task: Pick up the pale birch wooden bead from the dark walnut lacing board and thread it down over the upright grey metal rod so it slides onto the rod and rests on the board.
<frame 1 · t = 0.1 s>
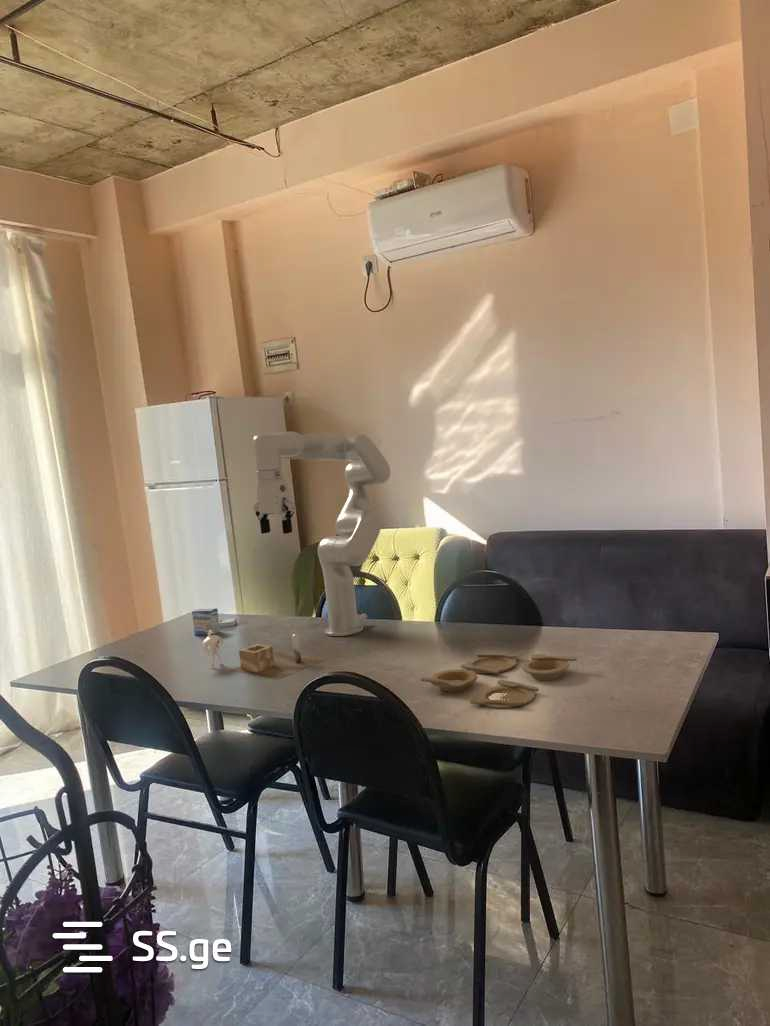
hand: (276, 532, 225), 37 cm above the table, tool pointing down, fingers open, 9 cm apart
lacing board: (278, 670, 212), on the table
medicine box: (207, 634, 264), on the table
wooden bead: (258, 667, 212), point 1 cm above the table, touching lacing board
figurine: (216, 671, 218), on the table
tableware set: (498, 683, 184), on the table
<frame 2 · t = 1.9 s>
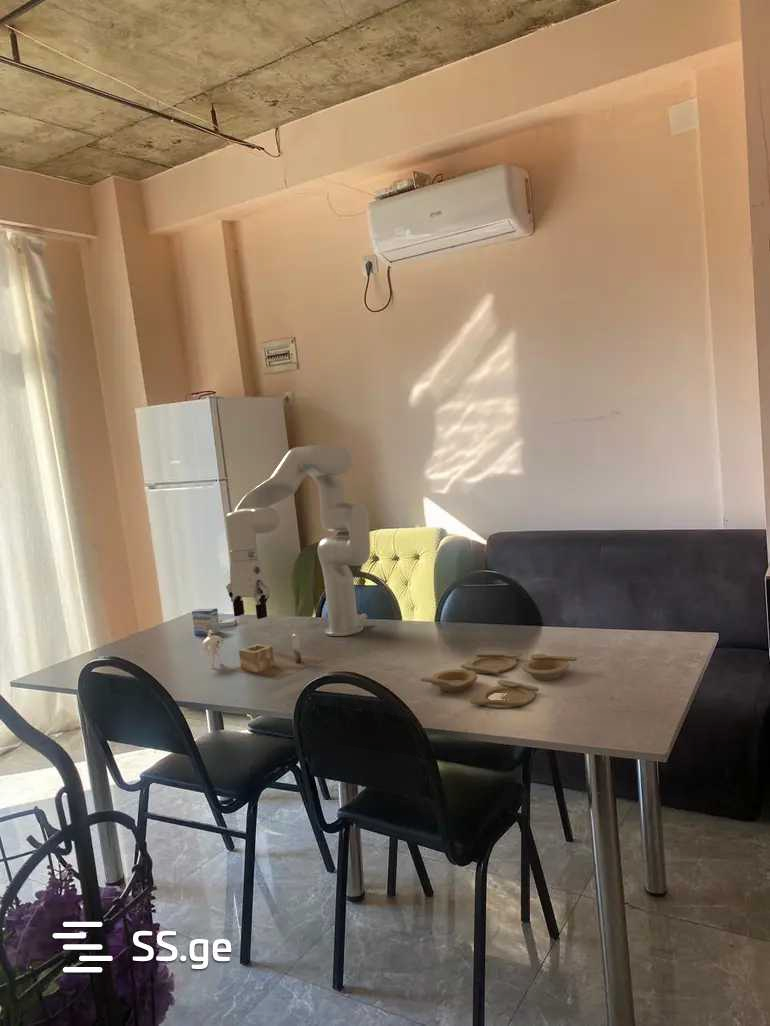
hand: (250, 616, 210), 16 cm above the table, tool pointing down, fingers open, 9 cm apart
nothing on the table moved.
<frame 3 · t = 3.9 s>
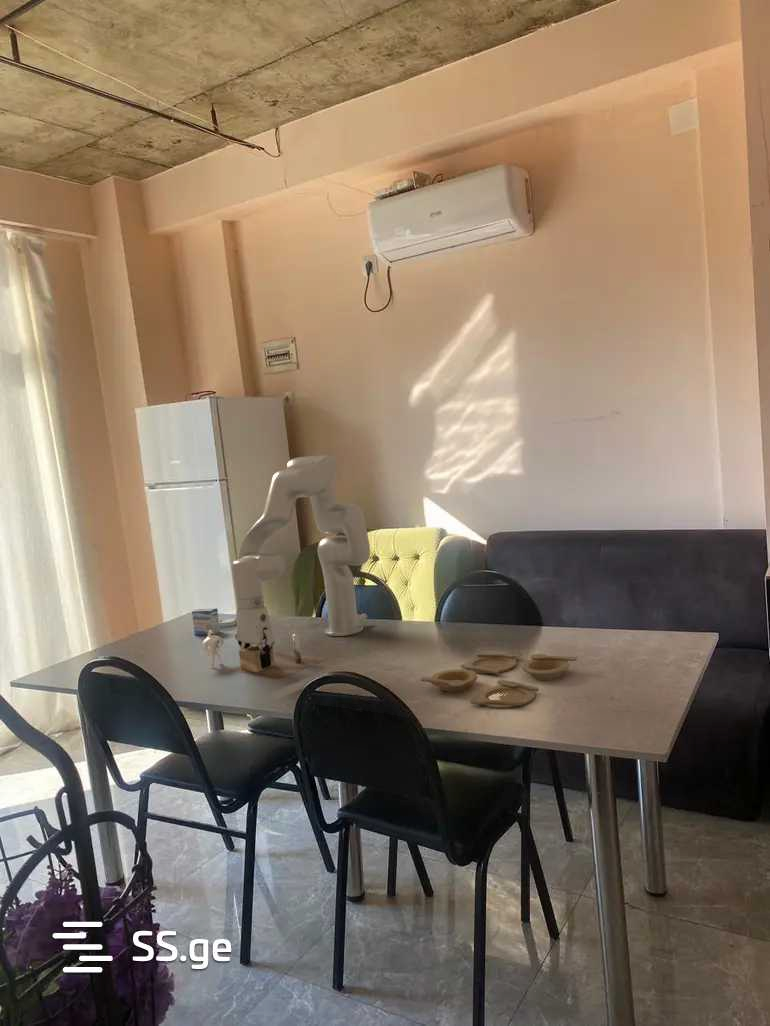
hand: (257, 664, 211), 2 cm above the table, tool pointing down, fingers closed on wooden bead, 6 cm apart
wooden bead: (258, 667, 212), point 2 cm above the table, touching gripper, lacing board
everything else where it was.
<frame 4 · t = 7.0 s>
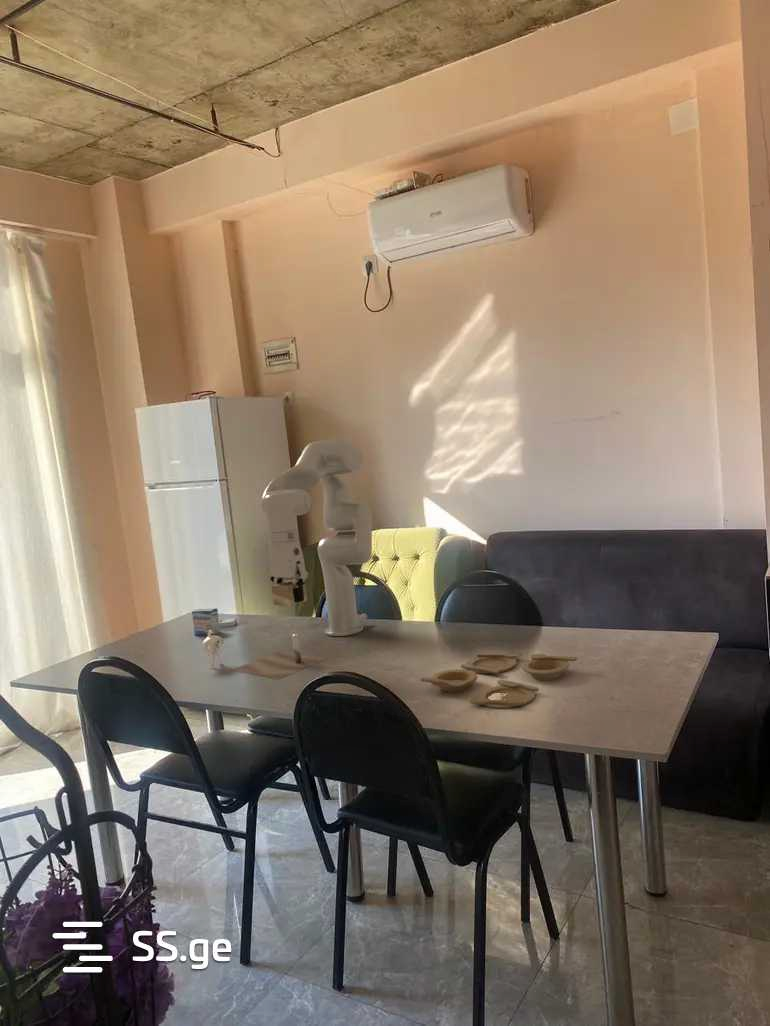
hand: (290, 600, 211), 19 cm above the table, tool pointing down, fingers closed on wooden bead, 6 cm apart
wooden bead: (290, 602, 211), point 19 cm above the table, touching gripper
everything else where it was.
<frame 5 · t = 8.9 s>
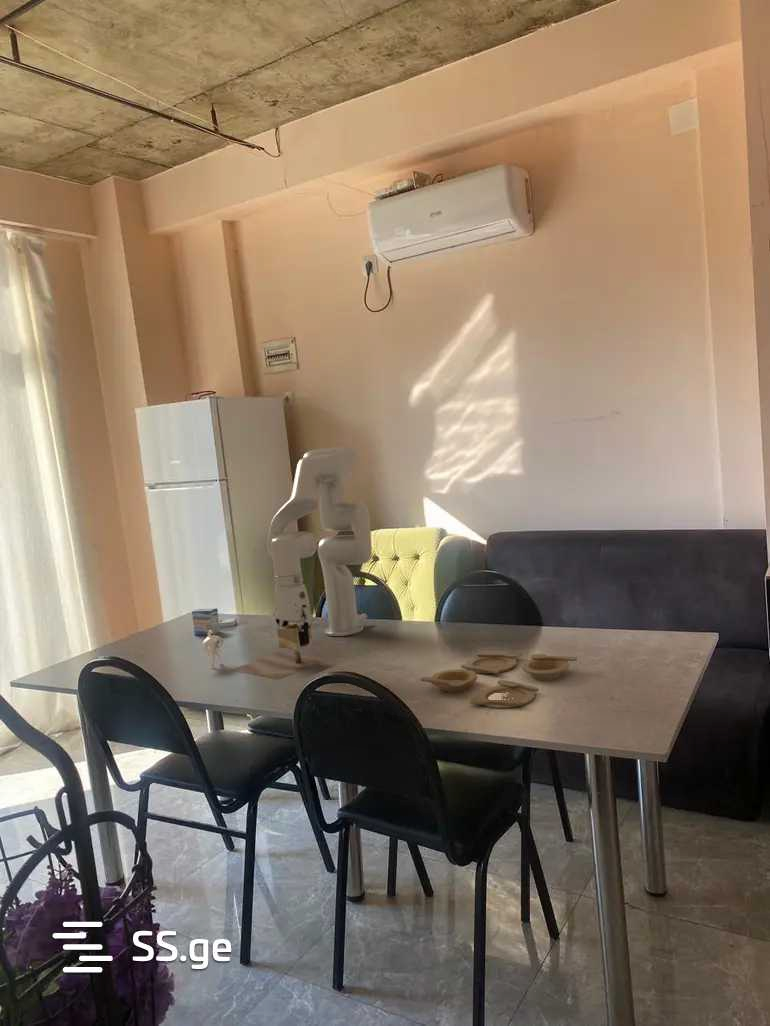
hand: (295, 642, 212), 7 cm above the table, tool pointing down, fingers closed on wooden bead, 6 cm apart
wooden bead: (295, 645, 212), point 6 cm above the table, touching gripper
everything else where it was.
when the fingers open (5 cm above the table, at t = 10.2 s): wooden bead drops 3 cm, resting on lacing board.
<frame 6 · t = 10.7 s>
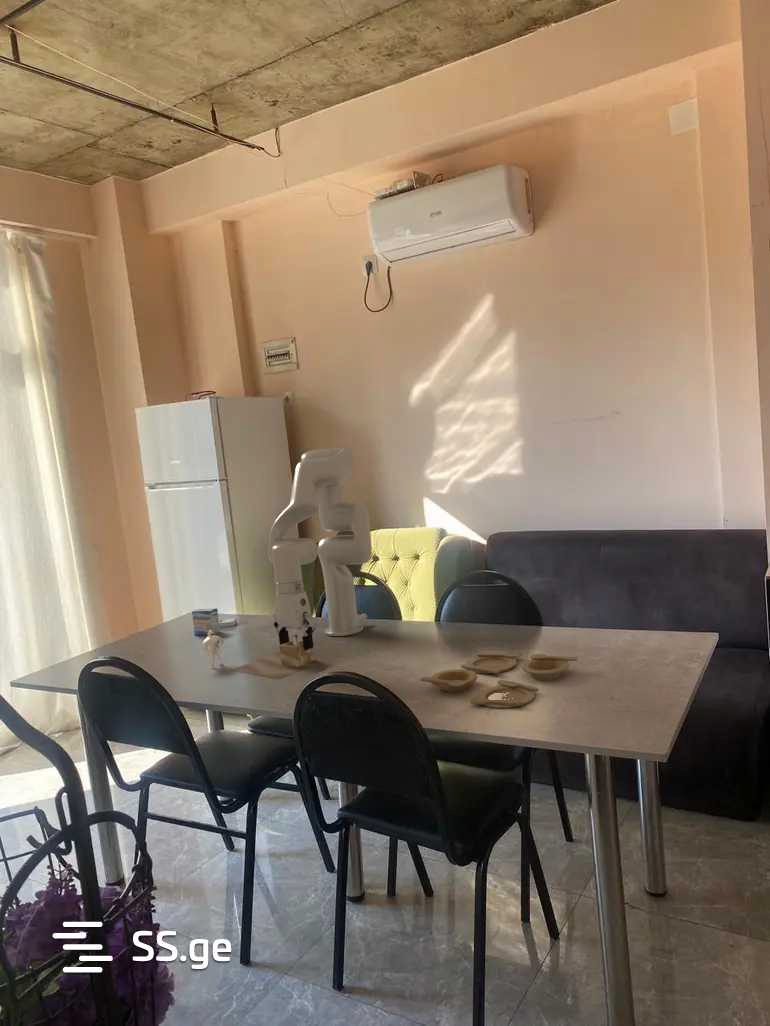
hand: (296, 647, 212), 6 cm above the table, tool pointing down, fingers open, 9 cm apart
wooden bead: (298, 662, 213), point 1 cm above the table, touching lacing board
everything else where it was.
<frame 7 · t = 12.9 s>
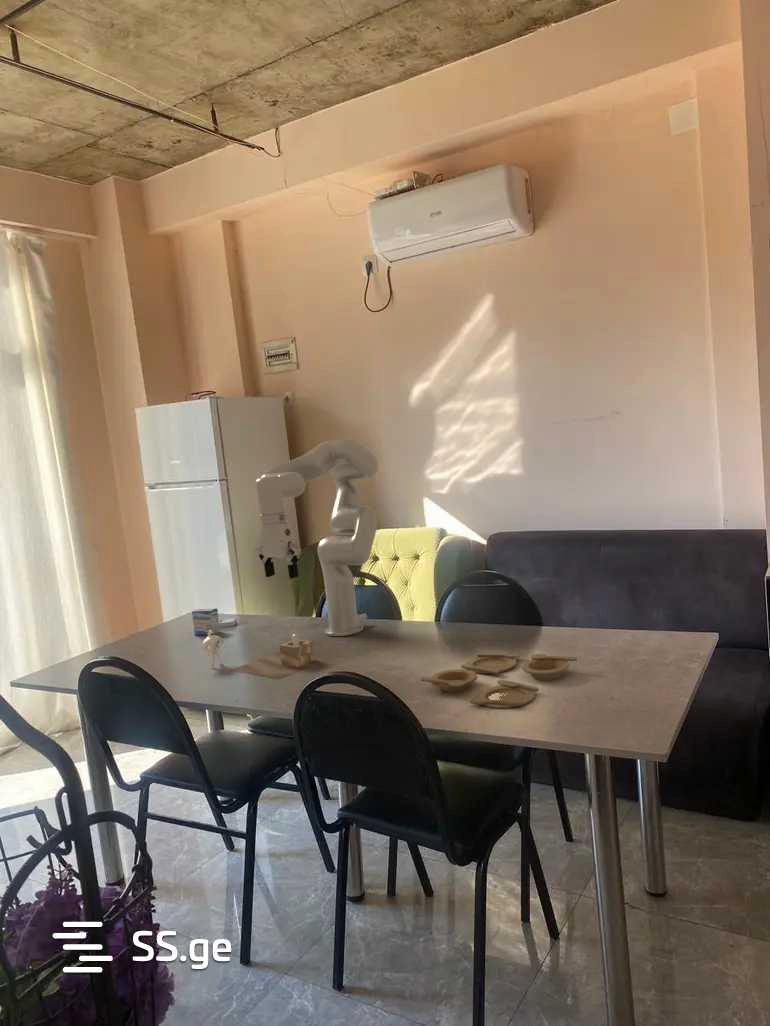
hand: (282, 576, 220), 25 cm above the table, tool pointing down, fingers open, 9 cm apart
nothing on the table moved.
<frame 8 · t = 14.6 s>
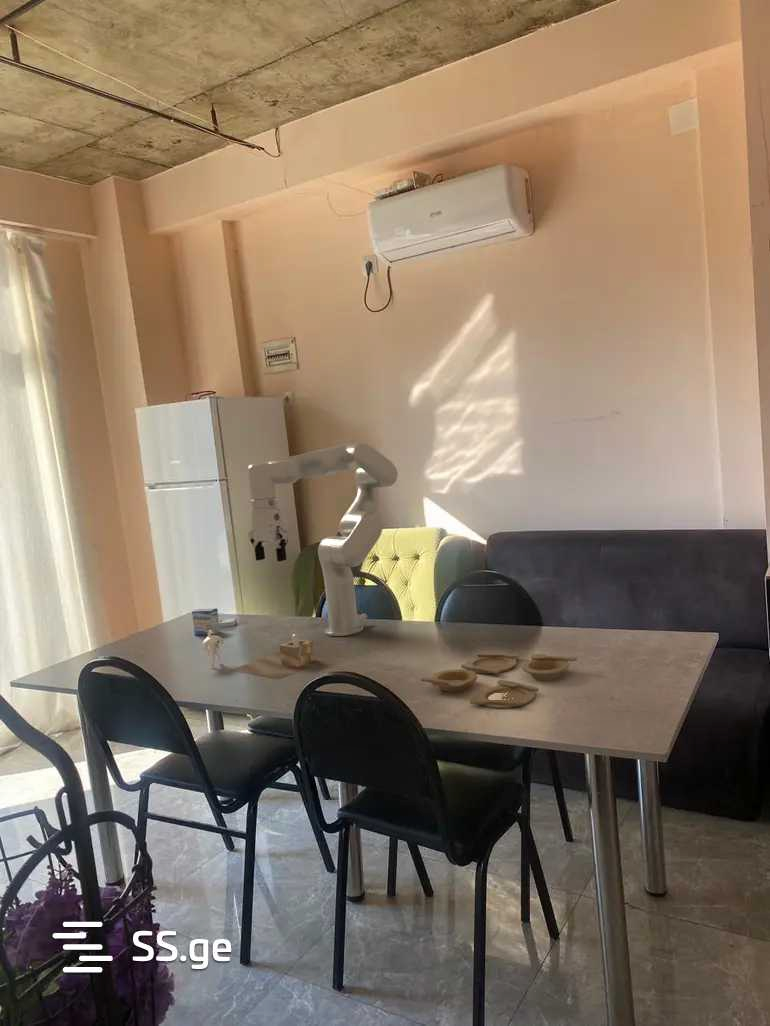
hand: (271, 560, 229), 28 cm above the table, tool pointing down, fingers open, 9 cm apart
nothing on the table moved.
at the end: wooden bead 0.1 cm from the target spot on the lacing board, point 1.5 cm above the lacing board's base; the gripper is holding nothing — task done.
